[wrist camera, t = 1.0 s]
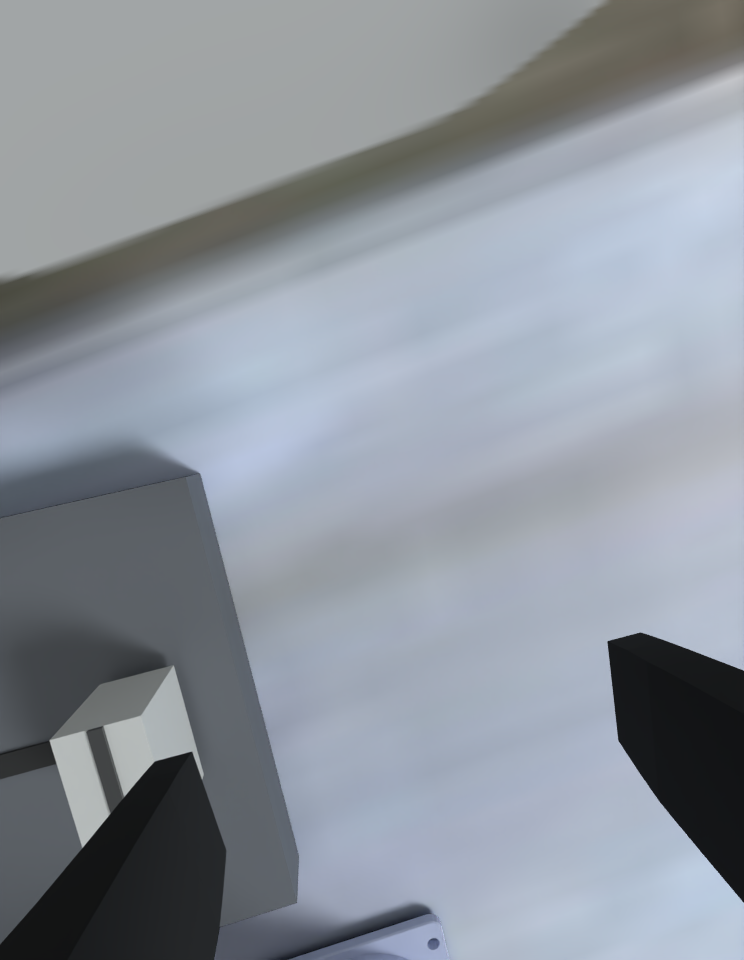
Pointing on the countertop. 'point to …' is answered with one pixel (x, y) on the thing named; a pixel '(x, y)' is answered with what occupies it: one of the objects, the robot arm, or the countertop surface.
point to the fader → (119, 742)
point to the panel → (123, 653)
